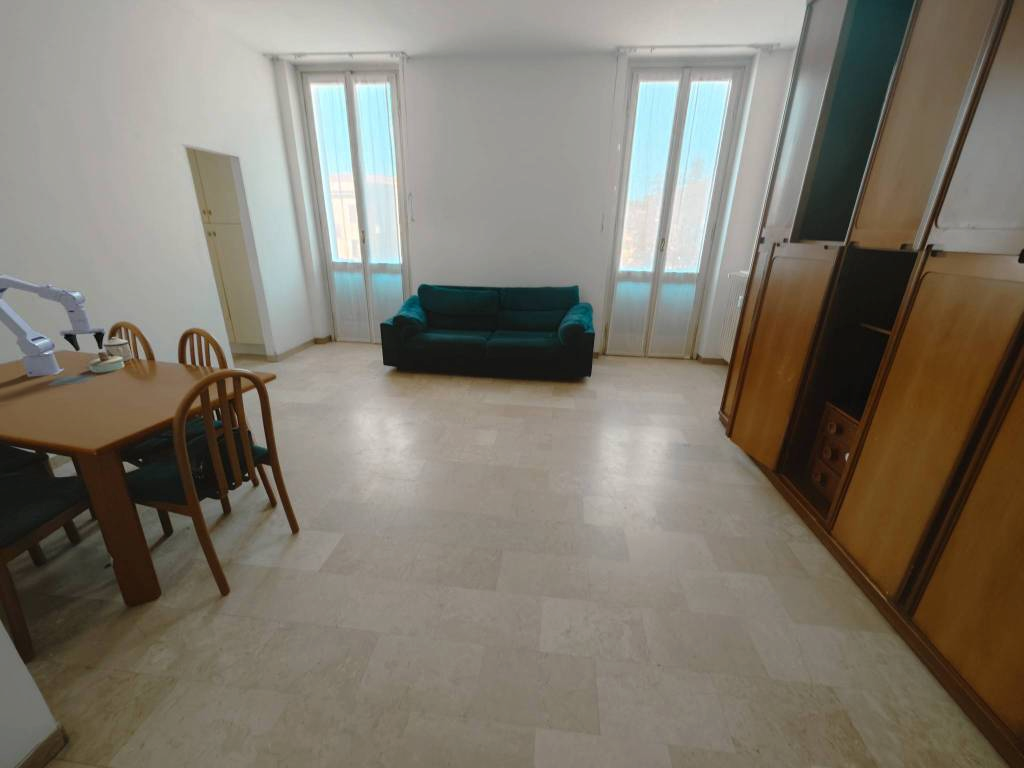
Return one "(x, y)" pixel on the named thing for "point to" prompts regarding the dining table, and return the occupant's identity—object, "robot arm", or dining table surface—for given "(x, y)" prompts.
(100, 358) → the lid
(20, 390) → the dining table surface
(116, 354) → the teacup with lid
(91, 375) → the mat
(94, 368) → the bowl
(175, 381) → the dining table surface
